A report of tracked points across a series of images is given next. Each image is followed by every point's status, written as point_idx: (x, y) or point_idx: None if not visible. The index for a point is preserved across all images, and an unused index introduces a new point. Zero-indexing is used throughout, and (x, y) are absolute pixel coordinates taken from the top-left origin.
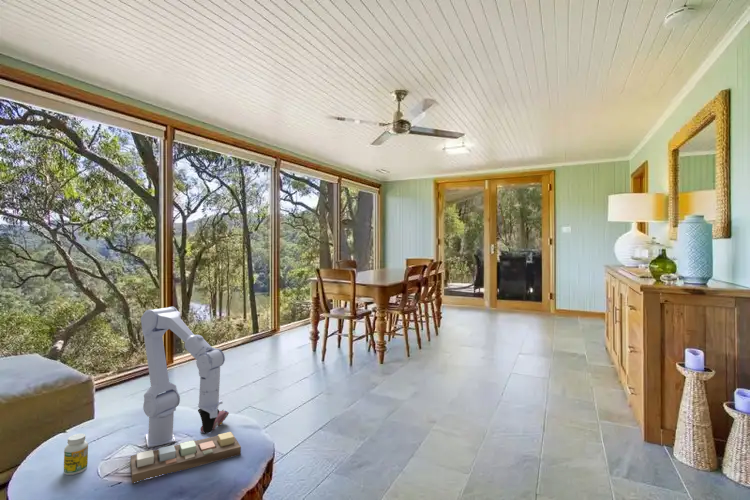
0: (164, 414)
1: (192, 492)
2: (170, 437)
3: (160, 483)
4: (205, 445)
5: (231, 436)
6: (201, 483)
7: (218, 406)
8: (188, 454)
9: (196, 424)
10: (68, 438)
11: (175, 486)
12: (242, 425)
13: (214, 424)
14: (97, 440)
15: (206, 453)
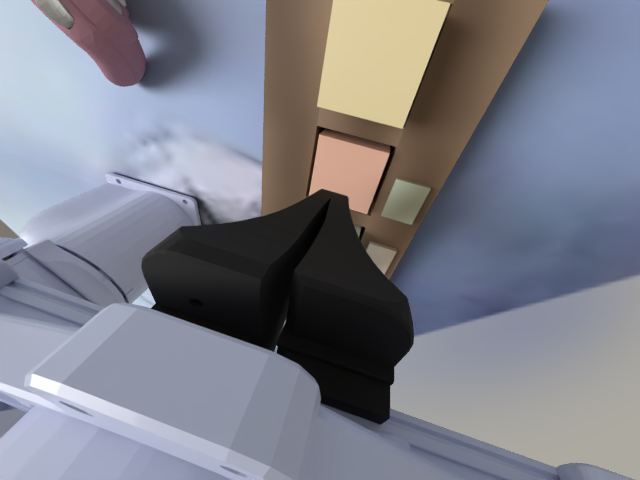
0: (106, 296)
1: (534, 300)
2: (176, 211)
3: None
4: (343, 185)
5: (426, 25)
6: (523, 267)
7: (431, 476)
8: None
9: (56, 64)
10: None
11: (451, 304)
12: None
13: (118, 15)
14: None
15: (415, 214)
